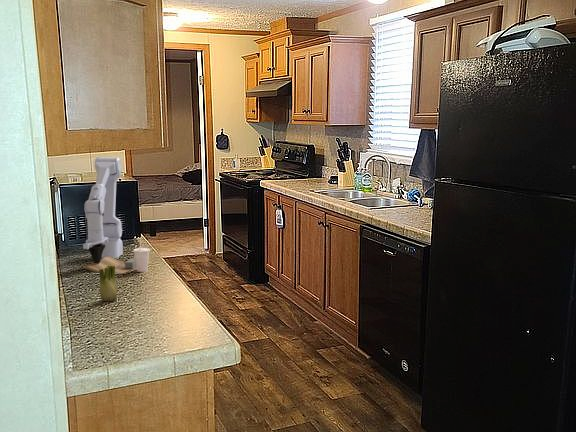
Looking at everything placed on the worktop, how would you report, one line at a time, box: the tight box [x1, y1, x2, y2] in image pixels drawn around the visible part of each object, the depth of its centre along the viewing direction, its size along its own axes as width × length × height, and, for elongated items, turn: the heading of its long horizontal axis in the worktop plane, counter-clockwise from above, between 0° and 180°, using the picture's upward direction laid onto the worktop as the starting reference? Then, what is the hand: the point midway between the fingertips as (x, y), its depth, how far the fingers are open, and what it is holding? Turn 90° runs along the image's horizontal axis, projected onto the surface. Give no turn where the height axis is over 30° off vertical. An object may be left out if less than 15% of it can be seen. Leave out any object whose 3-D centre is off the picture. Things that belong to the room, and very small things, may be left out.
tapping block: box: [124, 257, 136, 270], centre depth 219 cm, size 7×3×2 cm, turn 177°
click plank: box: [85, 256, 126, 273], centre depth 219 cm, size 16×8×1 cm, turn 167°
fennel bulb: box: [98, 265, 118, 302], centre depth 180 cm, size 6×5×12 cm
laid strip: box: [115, 263, 137, 275], centre depth 217 cm, size 16×8×1 cm, turn 167°
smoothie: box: [132, 238, 151, 273], centre depth 212 cm, size 6×6×14 cm
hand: (97, 262), depth 217 cm, fingers closed, pressing on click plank
